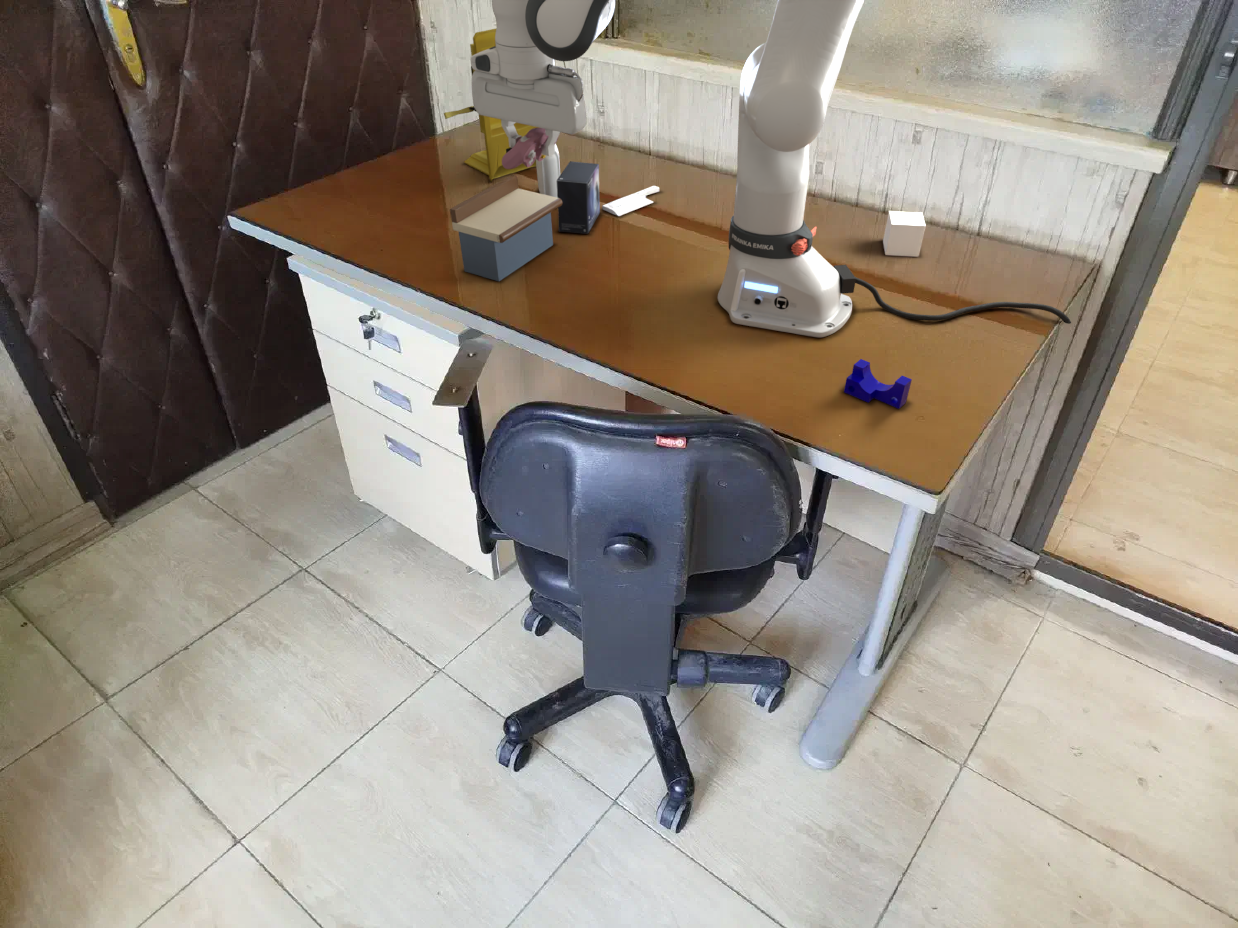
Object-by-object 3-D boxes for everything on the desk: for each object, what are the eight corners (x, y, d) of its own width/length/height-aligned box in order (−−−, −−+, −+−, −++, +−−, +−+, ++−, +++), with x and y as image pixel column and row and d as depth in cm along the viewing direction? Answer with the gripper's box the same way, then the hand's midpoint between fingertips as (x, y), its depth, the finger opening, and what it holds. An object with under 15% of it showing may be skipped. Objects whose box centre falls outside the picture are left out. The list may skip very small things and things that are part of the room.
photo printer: (536, 188, 180) (531, 130, 172) (556, 186, 181) (552, 128, 173) (543, 207, 173) (539, 147, 165) (564, 205, 173) (560, 145, 165)
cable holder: (843, 392, 120) (848, 369, 118) (856, 381, 122) (860, 358, 120) (894, 413, 116) (899, 390, 114) (905, 402, 118) (911, 379, 116)
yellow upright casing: (549, 139, 204) (540, 2, 185) (584, 154, 196) (578, 13, 176) (438, 171, 189) (415, 26, 170) (471, 189, 181) (450, 39, 161)
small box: (590, 235, 162) (588, 182, 155) (557, 232, 163) (554, 180, 156) (601, 213, 170) (600, 162, 163) (571, 211, 171) (568, 160, 164)
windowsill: (565, 246, 158) (561, 186, 151) (508, 286, 147) (501, 222, 139) (518, 234, 163) (512, 174, 155) (459, 271, 151) (449, 209, 143)
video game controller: (518, 183, 135) (531, 147, 130) (497, 165, 136) (509, 129, 130) (553, 164, 142) (567, 130, 136) (533, 147, 142) (546, 113, 137)
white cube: (915, 242, 157) (922, 212, 153) (918, 257, 153) (926, 226, 149) (882, 241, 158) (888, 210, 154) (885, 255, 154) (891, 224, 150)
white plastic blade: (670, 196, 176) (670, 191, 175) (618, 217, 168) (618, 212, 168) (653, 189, 179) (654, 184, 178) (601, 209, 171) (601, 204, 170)
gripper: (593, 65, 126) (595, 157, 134) (486, 47, 134) (495, 134, 143) (570, 76, 121) (573, 169, 130) (461, 56, 129) (471, 145, 138)
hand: (531, 151), depth 136 cm, fingers closed on video game controller, 5 cm apart
